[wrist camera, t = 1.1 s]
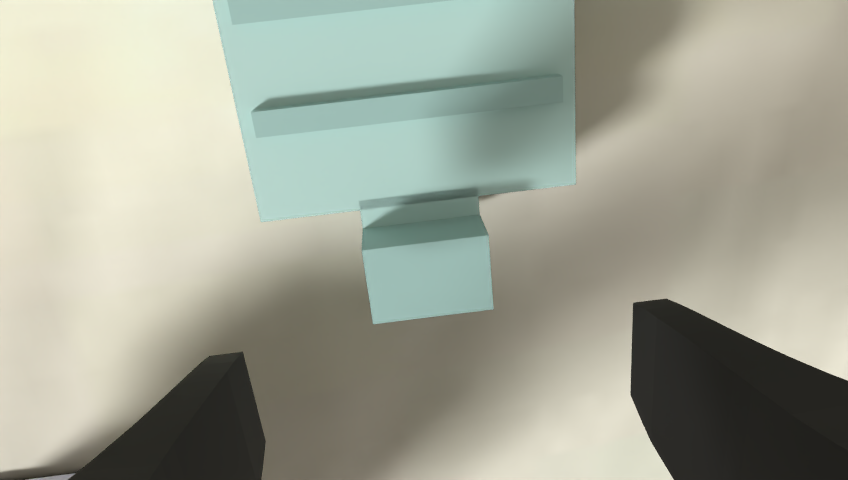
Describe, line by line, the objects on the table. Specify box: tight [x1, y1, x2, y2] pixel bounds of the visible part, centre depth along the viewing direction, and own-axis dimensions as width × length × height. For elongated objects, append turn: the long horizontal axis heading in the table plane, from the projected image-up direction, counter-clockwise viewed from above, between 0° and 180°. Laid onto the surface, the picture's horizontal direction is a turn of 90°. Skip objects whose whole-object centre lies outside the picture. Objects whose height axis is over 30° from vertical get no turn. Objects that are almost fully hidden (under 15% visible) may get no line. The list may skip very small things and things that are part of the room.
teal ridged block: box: [213, 0, 576, 324], centre depth 16 cm, size 12×8×6 cm, turn 6°
